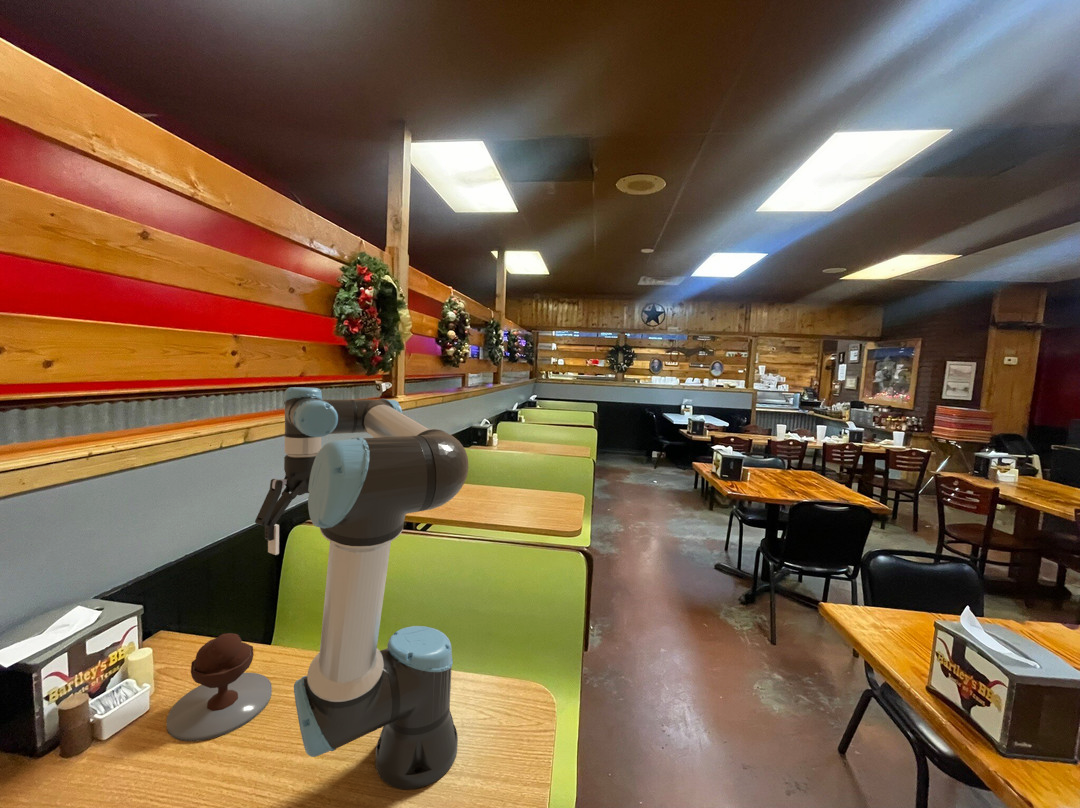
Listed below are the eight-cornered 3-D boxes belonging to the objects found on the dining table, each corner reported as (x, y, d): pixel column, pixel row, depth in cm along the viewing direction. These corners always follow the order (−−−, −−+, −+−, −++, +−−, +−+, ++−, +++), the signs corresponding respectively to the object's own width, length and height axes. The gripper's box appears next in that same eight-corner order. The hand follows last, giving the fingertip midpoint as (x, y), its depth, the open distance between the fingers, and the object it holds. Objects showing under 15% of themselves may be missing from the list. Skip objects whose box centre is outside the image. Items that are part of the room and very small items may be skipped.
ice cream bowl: (264, 684, 99) (265, 619, 98) (228, 723, 88) (229, 651, 87) (217, 681, 99) (218, 616, 98) (176, 719, 88) (176, 647, 87)
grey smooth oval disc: (289, 696, 97) (289, 691, 97) (194, 756, 81) (194, 751, 81) (243, 666, 106) (243, 662, 106) (149, 716, 90) (149, 711, 90)
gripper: (337, 445, 115) (336, 524, 116) (236, 460, 93) (236, 558, 94) (358, 448, 112) (356, 530, 113) (258, 464, 89) (257, 566, 91)
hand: (302, 543), depth 104 cm, fingers open, 13 cm apart
